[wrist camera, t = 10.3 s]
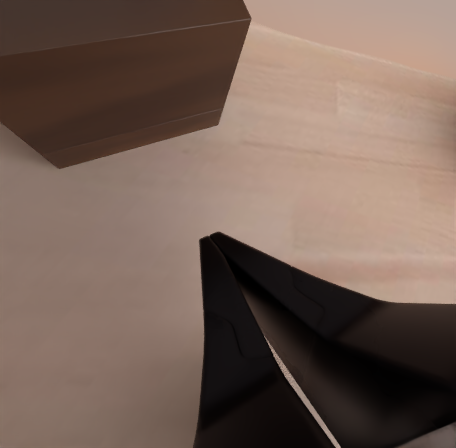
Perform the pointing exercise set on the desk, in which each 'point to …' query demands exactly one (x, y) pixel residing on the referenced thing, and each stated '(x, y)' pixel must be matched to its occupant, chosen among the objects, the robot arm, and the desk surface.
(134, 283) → the desk surface
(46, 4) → the walnut bookend
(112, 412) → the desk surface
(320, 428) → the robot arm
